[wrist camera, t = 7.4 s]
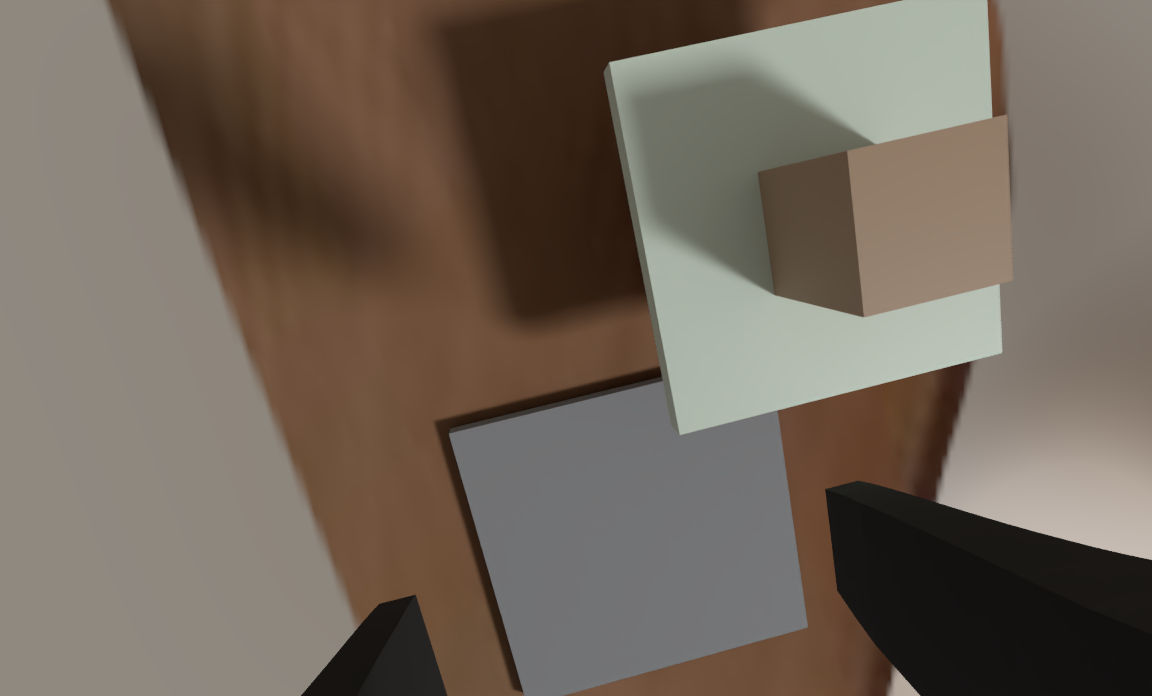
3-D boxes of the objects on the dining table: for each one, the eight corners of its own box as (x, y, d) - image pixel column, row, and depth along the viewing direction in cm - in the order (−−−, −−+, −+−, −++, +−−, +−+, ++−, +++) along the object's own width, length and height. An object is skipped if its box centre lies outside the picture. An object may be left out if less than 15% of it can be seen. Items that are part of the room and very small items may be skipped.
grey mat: (800, 618, 22) (807, 627, 21) (526, 694, 21) (527, 705, 21) (763, 352, 19) (769, 354, 19) (450, 428, 19) (448, 433, 18)
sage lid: (977, 346, 16) (1153, 390, 11) (671, 424, 15) (734, 502, 11) (959, -4, 14) (1165, -110, 9) (603, 72, 13) (647, -6, 9)
